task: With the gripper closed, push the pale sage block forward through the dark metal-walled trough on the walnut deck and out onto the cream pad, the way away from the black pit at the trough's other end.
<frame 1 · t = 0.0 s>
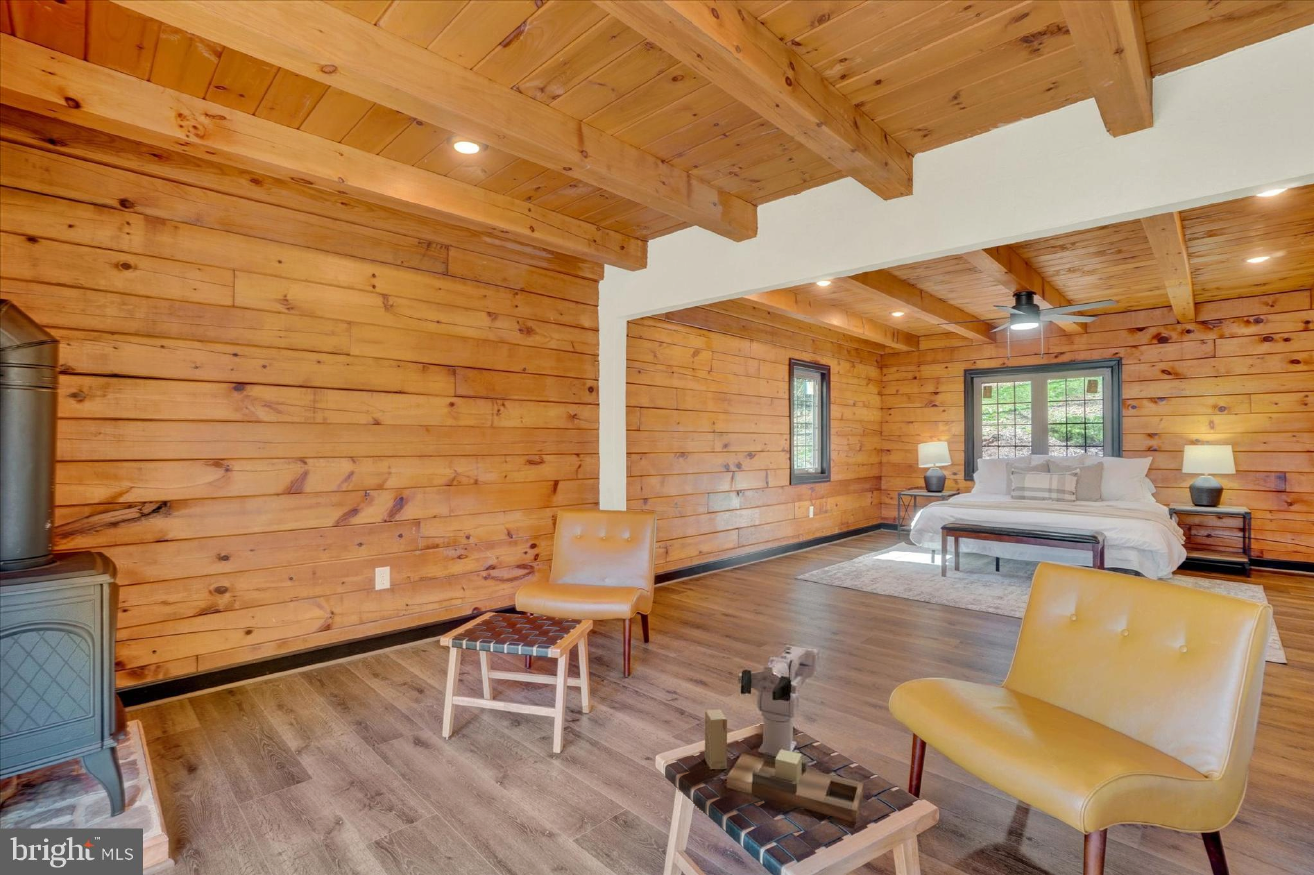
hand: (757, 692, 143), 22 cm above the table, tool horizontal, fingers open, 7 cm apart
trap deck: (794, 790, 141), on the table
sage block: (788, 778, 142), point 2 cm above the table, touching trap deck
skincare box: (715, 764, 153), on the table
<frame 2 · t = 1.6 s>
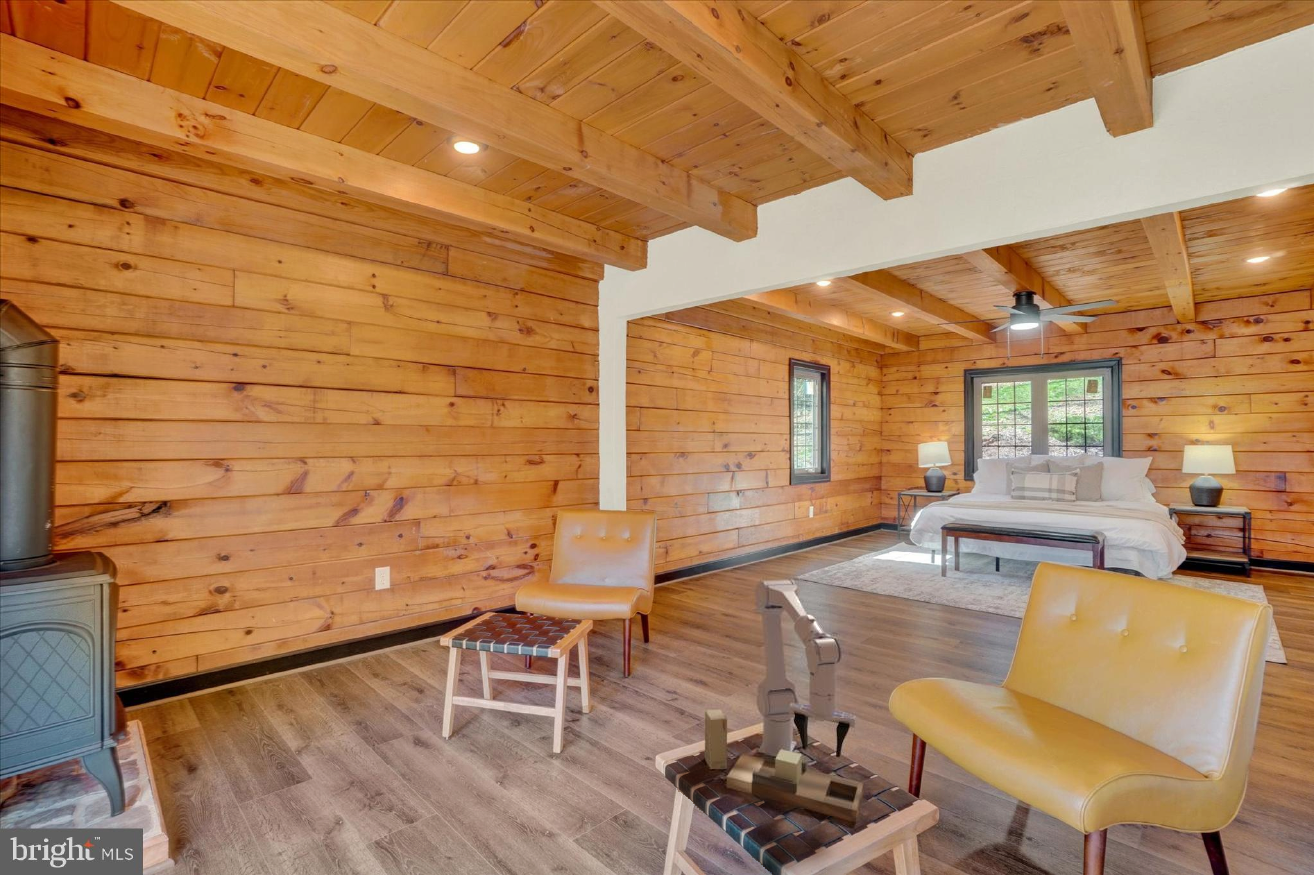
hand: (821, 751, 139), 10 cm above the table, tool pointing down, fingers open, 7 cm apart
nothing on the table moved.
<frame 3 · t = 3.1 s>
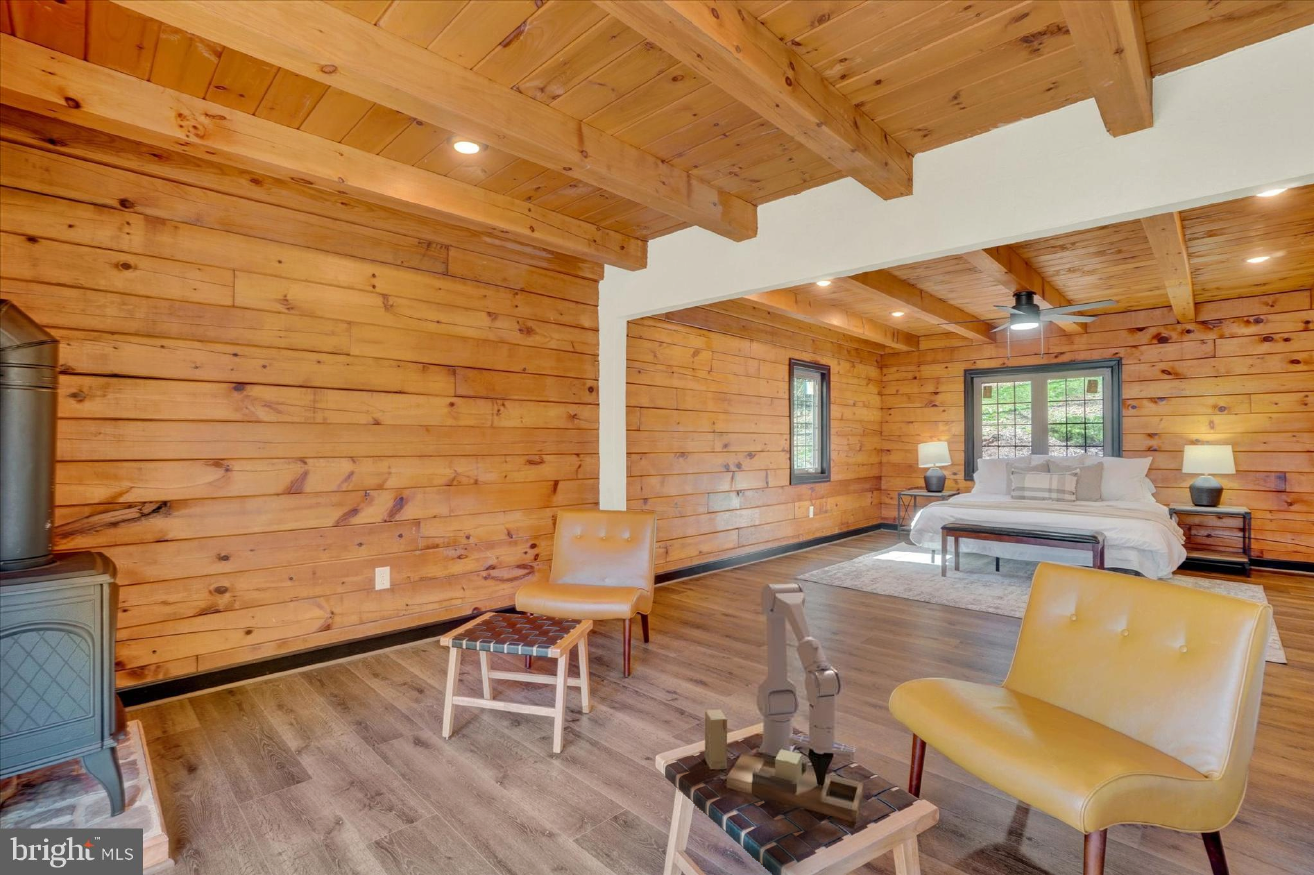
hand: (821, 783, 139), 3 cm above the table, tool pointing down, fingers closed
nothing on the table moved.
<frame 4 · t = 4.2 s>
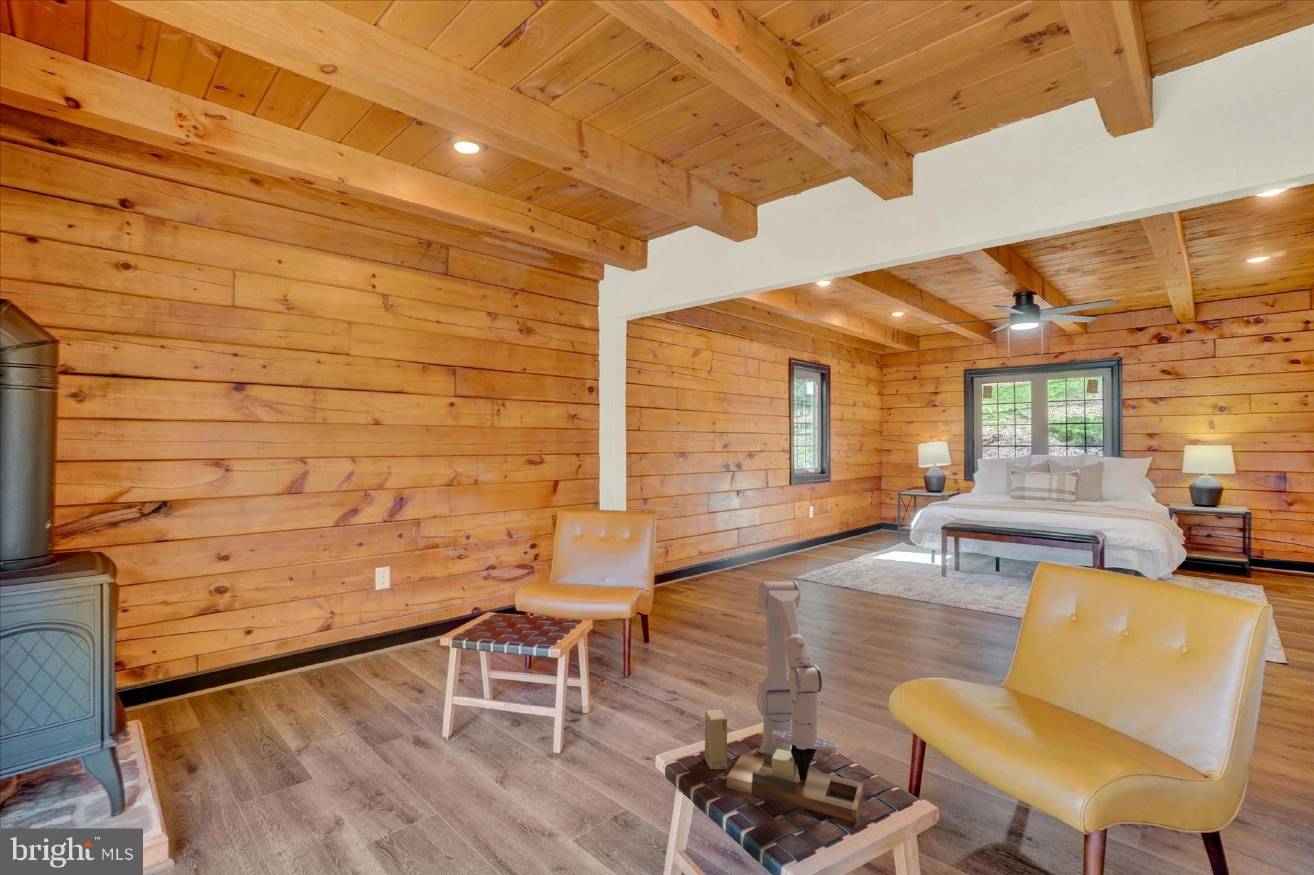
hand: (803, 778, 140), 3 cm above the table, tool pointing down, fingers closed
sage block: (784, 777, 142), point 3 cm above the table, touching gripper, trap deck
everything else where it was.
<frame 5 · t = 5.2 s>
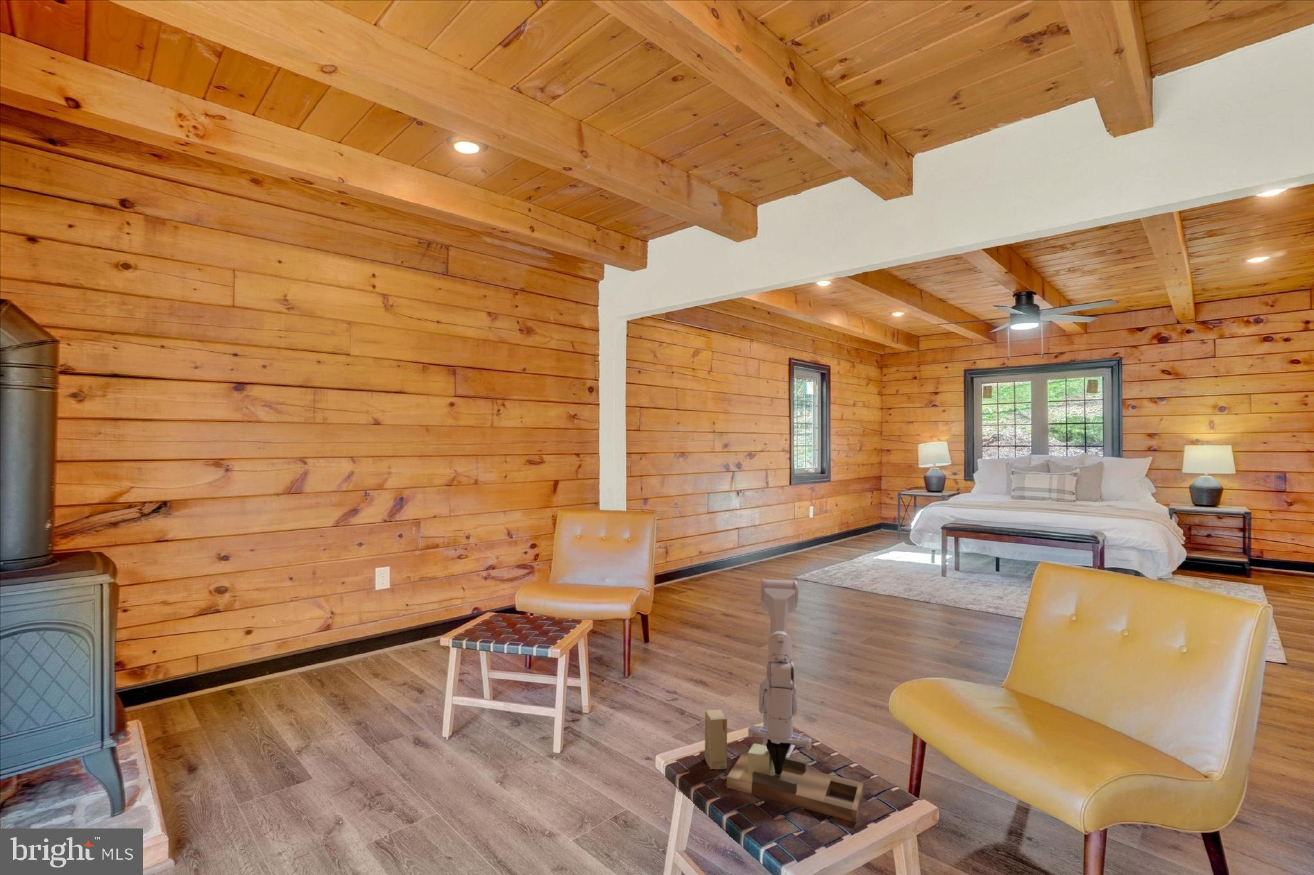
hand: (778, 772, 143), 3 cm above the table, tool pointing down, fingers closed
sage block: (761, 771, 145), point 3 cm above the table, touching gripper, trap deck
everything else where it was.
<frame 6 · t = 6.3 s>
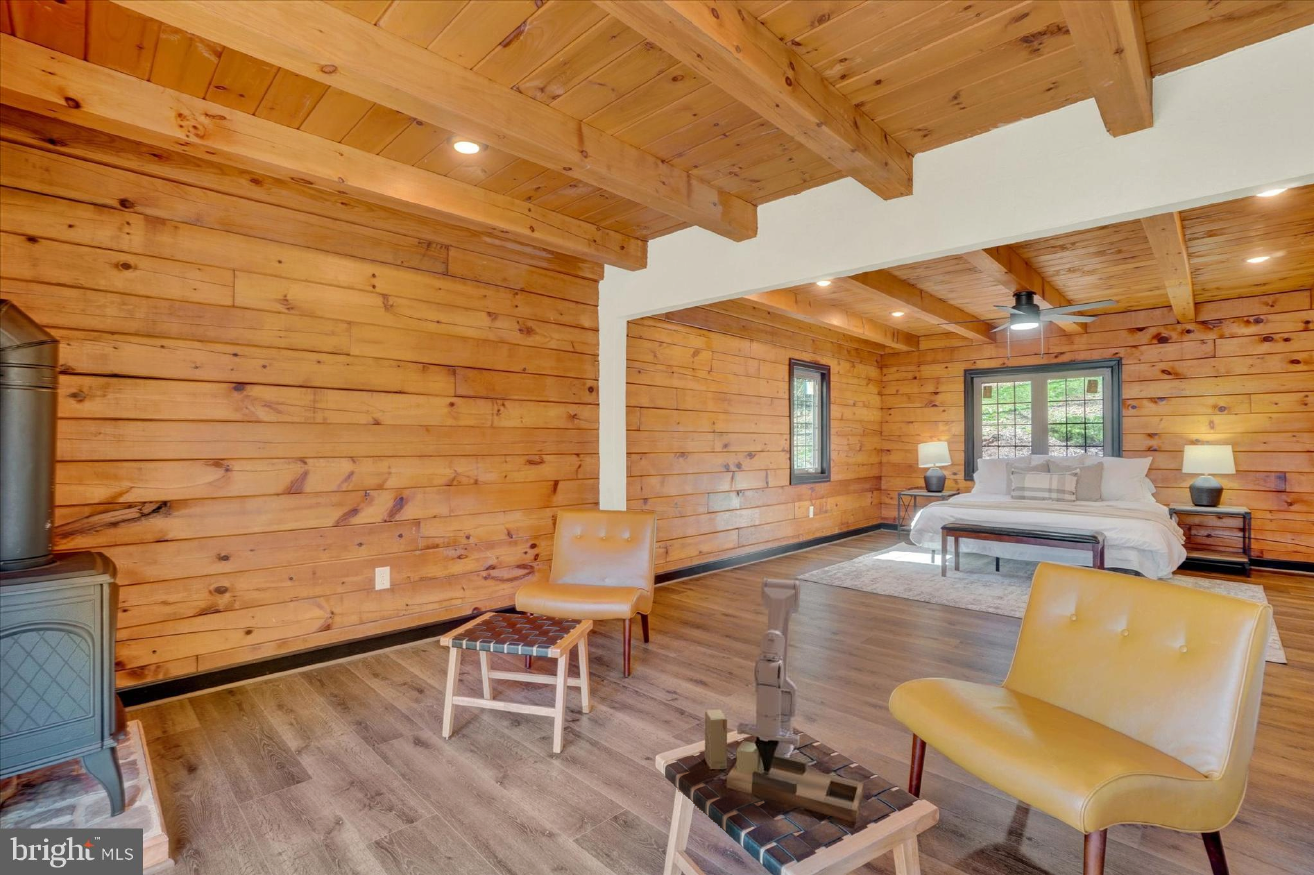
hand: (767, 769, 144), 3 cm above the table, tool pointing down, fingers closed
sage block: (750, 768, 146), point 3 cm above the table, touching gripper, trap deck
everything else where it was.
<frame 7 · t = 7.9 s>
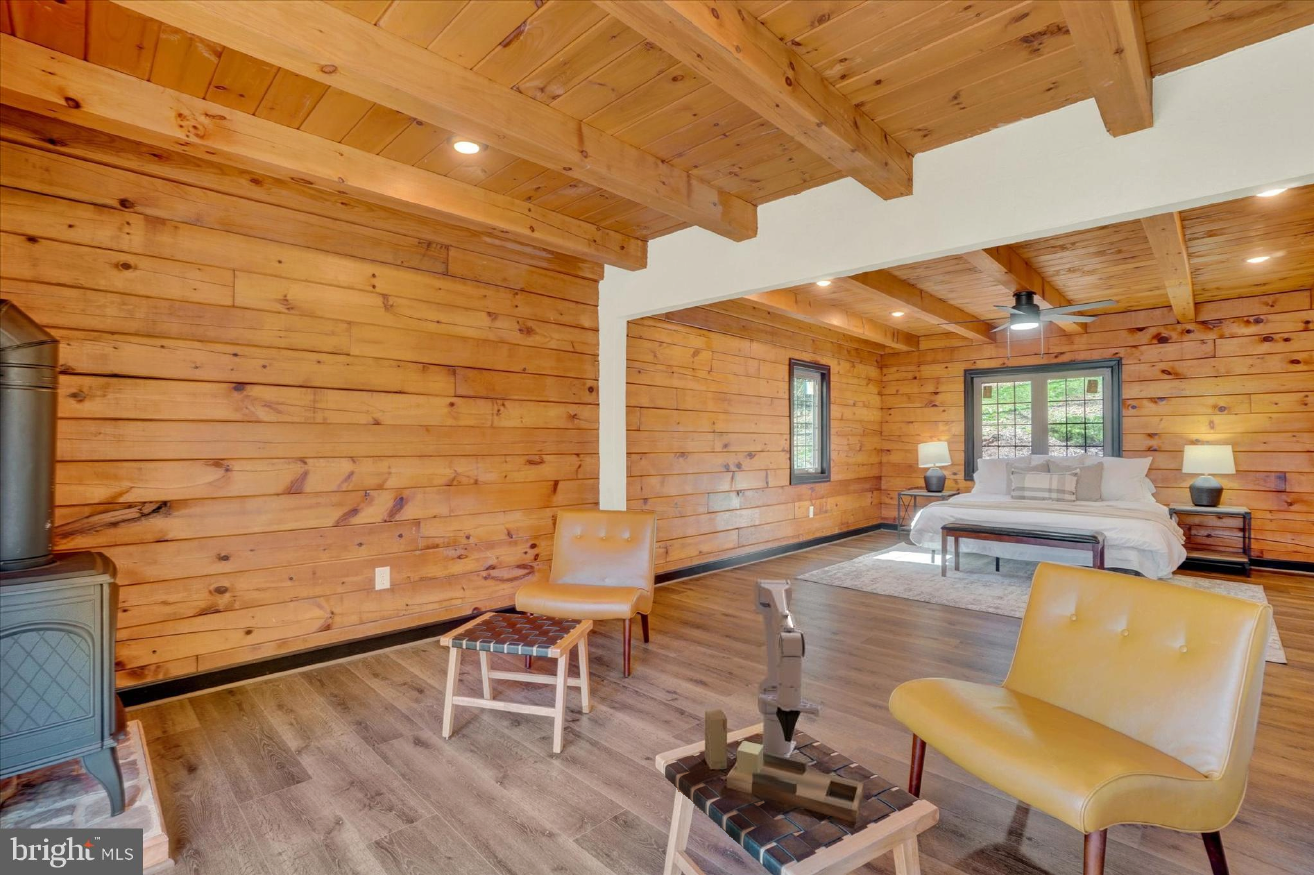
hand: (788, 739, 146), 9 cm above the table, tool pointing down, fingers closed
sage block: (750, 768, 146), point 2 cm above the table, touching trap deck
everything else where it was.
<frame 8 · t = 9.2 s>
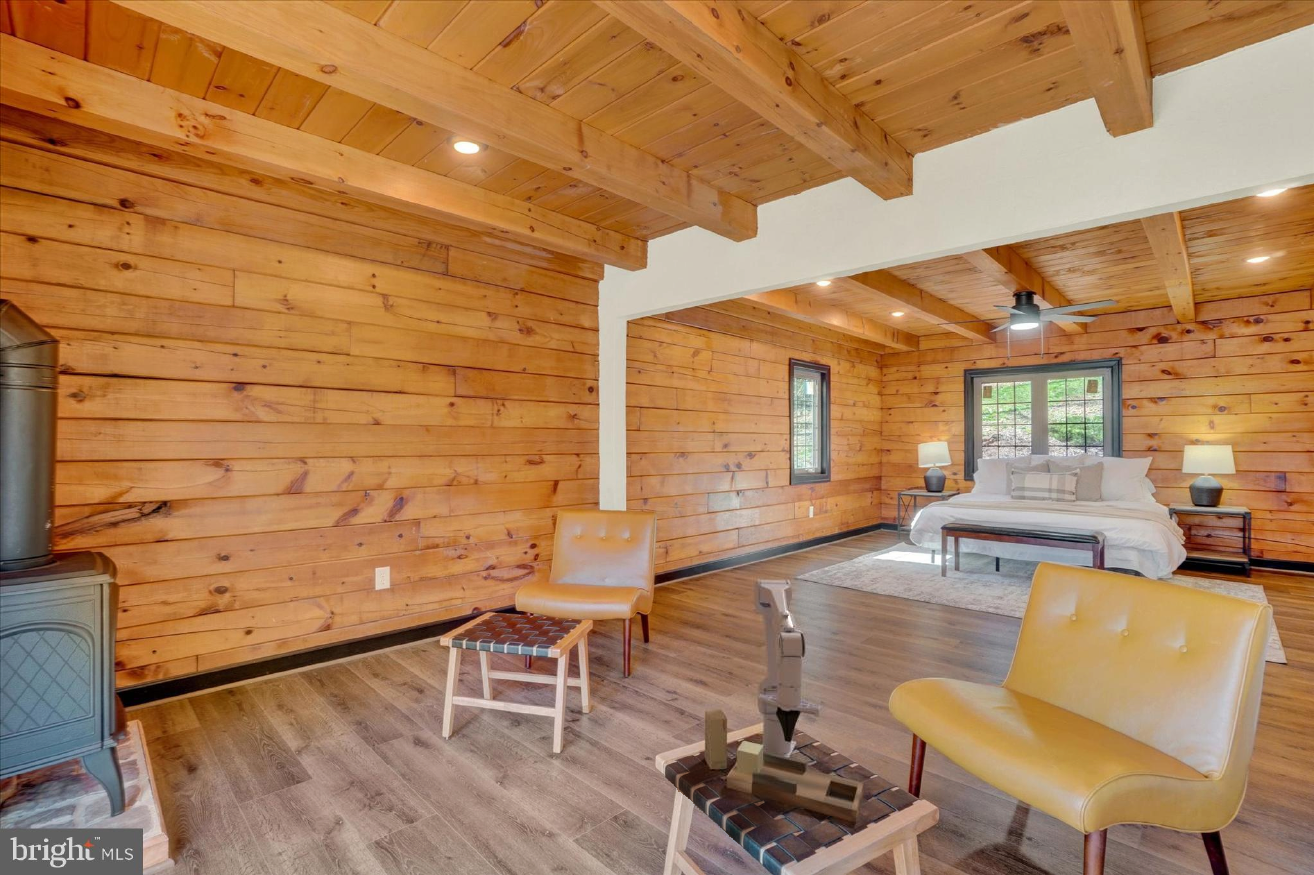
hand: (788, 739, 146), 9 cm above the table, tool pointing down, fingers closed
nothing on the table moved.
at the end: sage block inside the target area (0.5 cm from its centre), point 2.5 cm above the table; sage block tilted 0° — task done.
